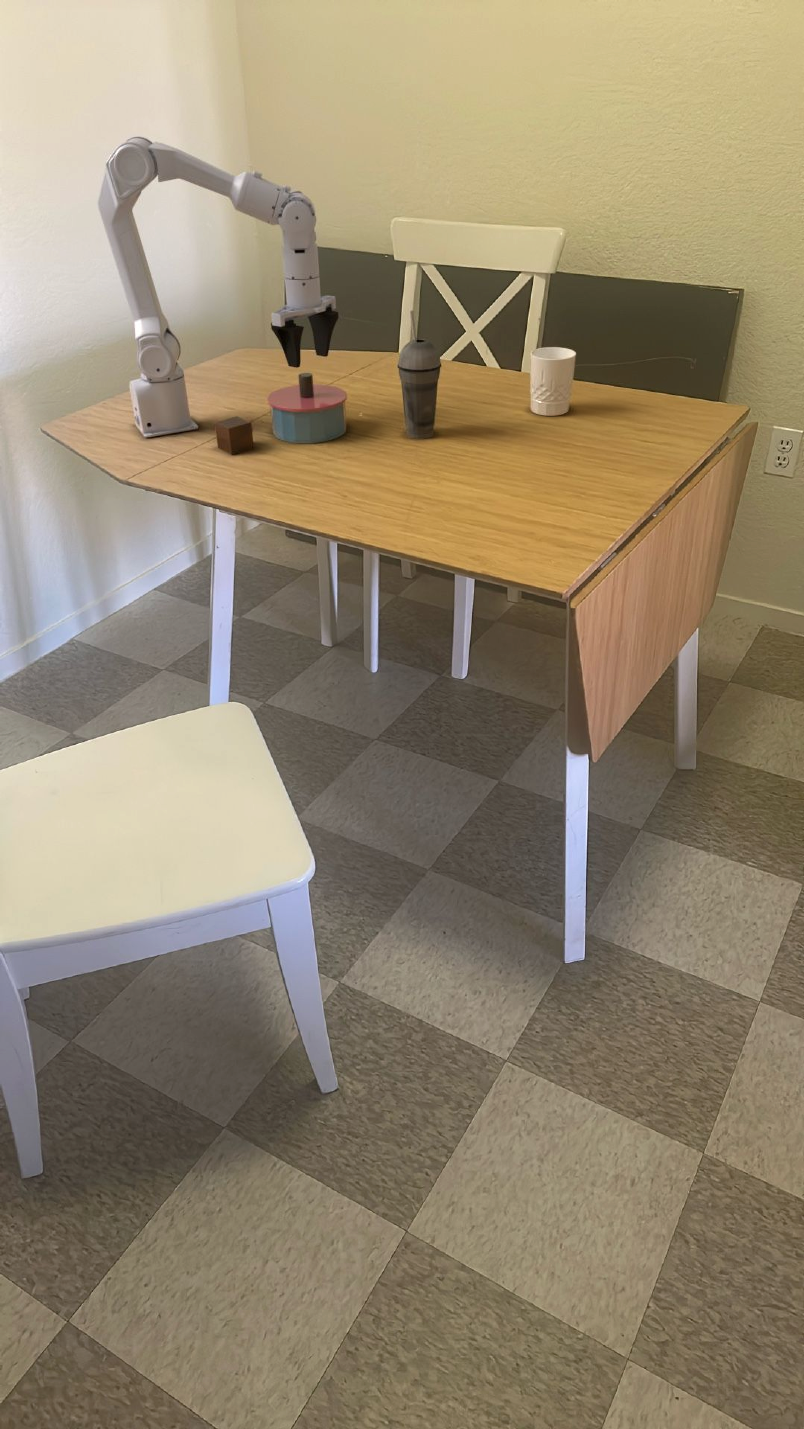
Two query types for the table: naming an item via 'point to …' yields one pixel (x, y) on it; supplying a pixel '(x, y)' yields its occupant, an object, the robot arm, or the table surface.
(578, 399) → the table surface
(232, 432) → the block
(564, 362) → the white cup
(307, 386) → the lid
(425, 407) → the beverage cup
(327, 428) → the bowl
